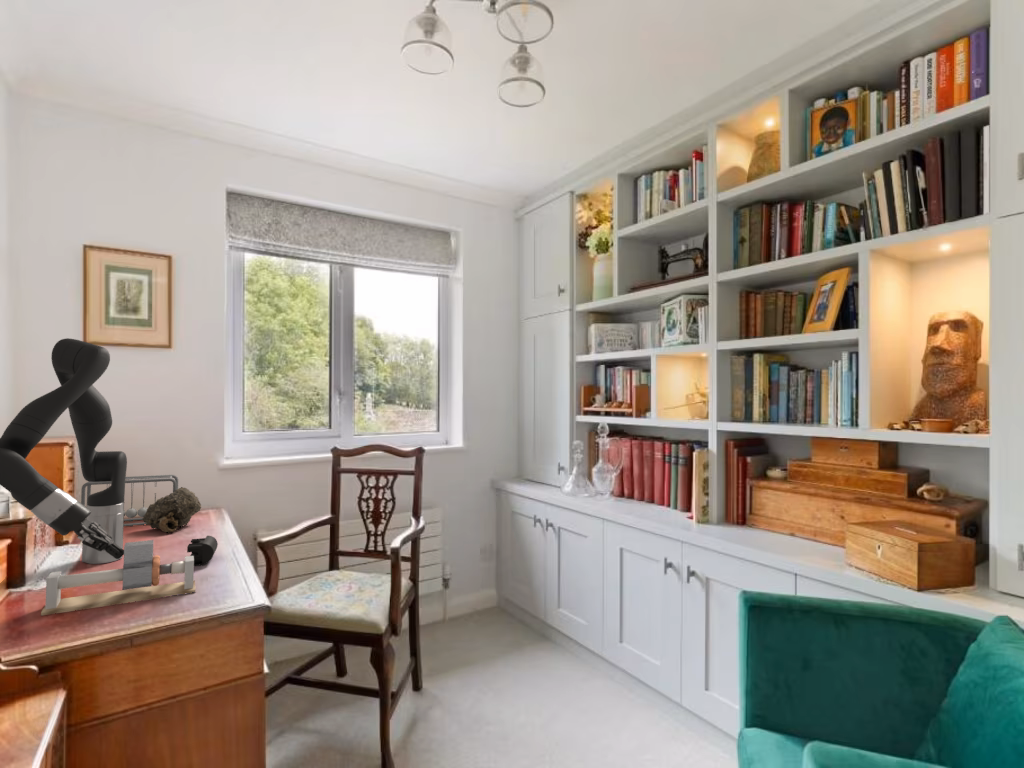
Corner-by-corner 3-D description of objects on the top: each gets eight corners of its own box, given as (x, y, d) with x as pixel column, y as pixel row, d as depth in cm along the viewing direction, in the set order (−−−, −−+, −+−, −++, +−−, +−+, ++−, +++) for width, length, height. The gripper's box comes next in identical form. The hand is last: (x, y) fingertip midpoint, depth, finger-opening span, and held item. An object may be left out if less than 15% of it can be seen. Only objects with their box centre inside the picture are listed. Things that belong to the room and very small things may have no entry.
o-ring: (151, 589, 138) (152, 560, 138) (152, 580, 144) (153, 553, 144) (158, 588, 139) (159, 559, 139) (159, 579, 145) (160, 552, 145)
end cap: (213, 565, 165) (214, 542, 165) (186, 567, 163) (187, 544, 163) (217, 555, 174) (218, 534, 175) (191, 557, 172) (192, 536, 172)
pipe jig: (45, 612, 128) (46, 578, 128) (49, 605, 132) (50, 572, 133) (193, 591, 144) (193, 560, 144) (192, 585, 148) (193, 555, 148)
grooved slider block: (122, 590, 135) (123, 547, 136) (124, 582, 140) (125, 541, 141) (151, 586, 138) (152, 544, 139) (152, 579, 144) (153, 538, 144)
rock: (178, 480, 215) (182, 478, 203) (206, 505, 219) (211, 505, 207) (135, 516, 205) (136, 516, 193) (166, 541, 209) (168, 544, 197)
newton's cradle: (79, 530, 201) (81, 482, 201) (86, 524, 210) (87, 478, 211) (175, 523, 215) (176, 478, 215) (177, 517, 224) (178, 474, 224)
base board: (41, 615, 127) (41, 612, 127) (48, 603, 133) (48, 600, 133) (195, 592, 143) (195, 589, 143) (194, 583, 149) (194, 580, 149)
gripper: (70, 504, 127) (132, 550, 134) (80, 494, 139) (137, 537, 145) (40, 530, 125) (105, 575, 131) (52, 517, 136) (111, 560, 142)
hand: (121, 555), depth 138 cm, fingers closed
